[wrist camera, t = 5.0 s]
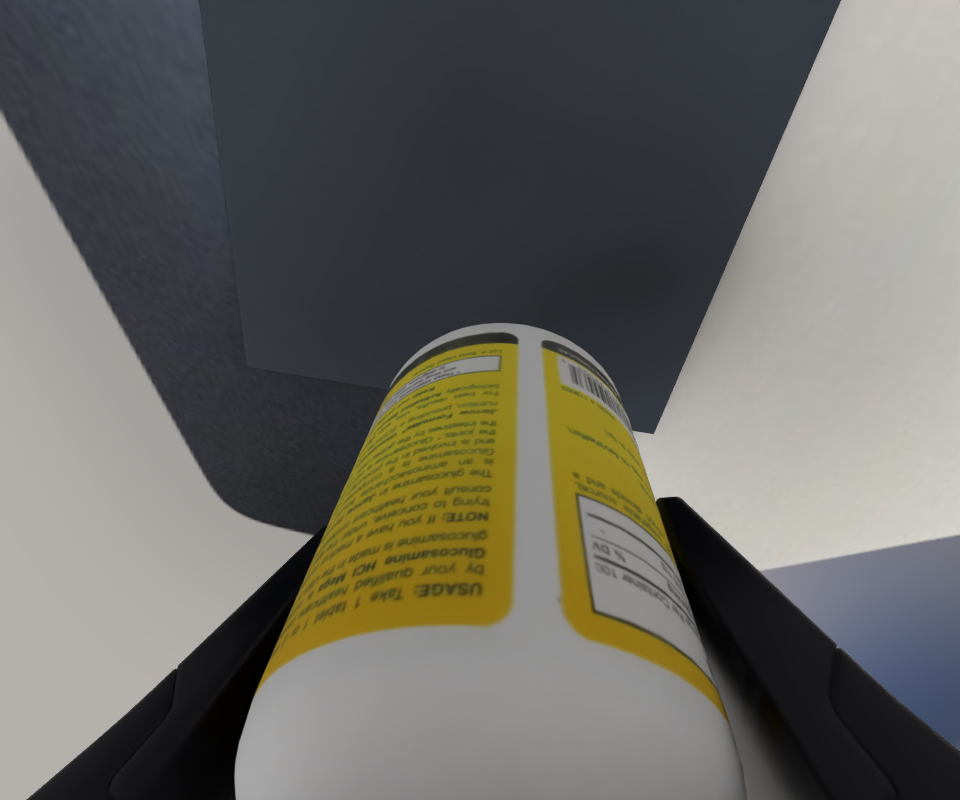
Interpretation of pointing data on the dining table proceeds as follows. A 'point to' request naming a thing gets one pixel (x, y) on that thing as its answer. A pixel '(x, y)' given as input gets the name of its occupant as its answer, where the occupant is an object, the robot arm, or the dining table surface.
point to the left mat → (494, 171)
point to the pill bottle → (492, 604)
